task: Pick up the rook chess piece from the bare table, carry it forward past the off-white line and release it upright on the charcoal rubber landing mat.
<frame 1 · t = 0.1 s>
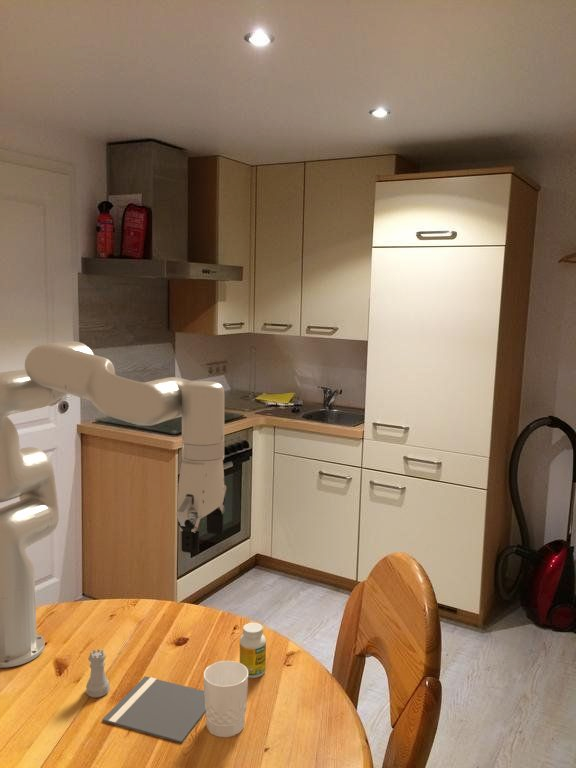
hand: (203, 542, 117), 31 cm above the table, tool pointing down, fingers open, 9 cm apart
supplement bottle: (252, 672, 131), on the table
landing mat: (161, 708, 119), on the table
white cup: (225, 726, 114), on the table
rook chess piece: (98, 692, 123), on the table
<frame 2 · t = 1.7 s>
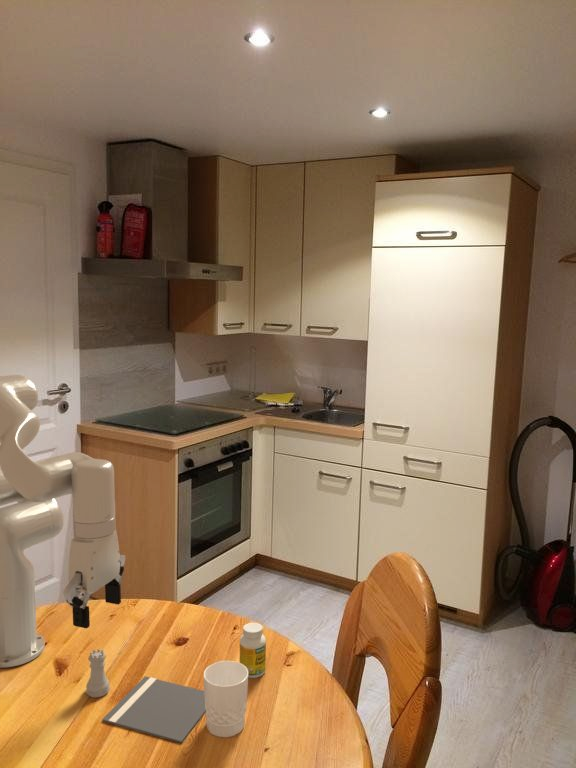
hand: (97, 614, 121), 16 cm above the table, tool pointing down, fingers open, 9 cm apart
nothing on the table moved.
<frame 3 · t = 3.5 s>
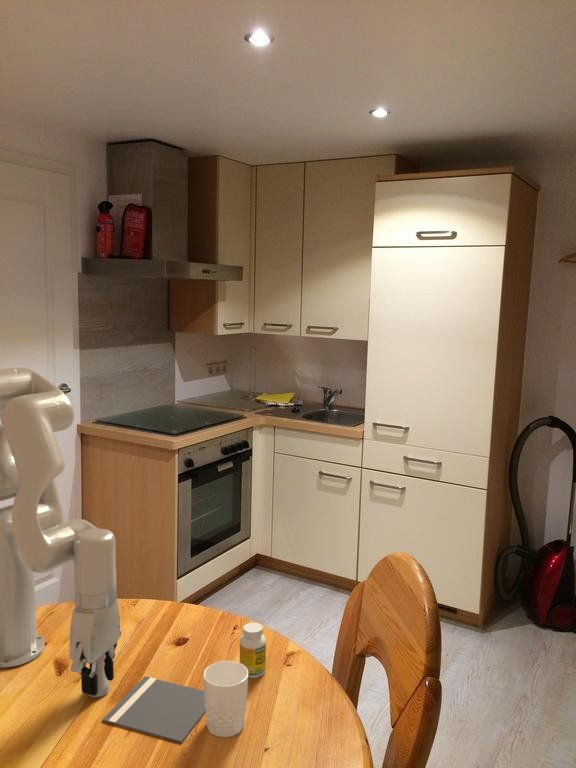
hand: (97, 684, 123), 1 cm above the table, tool pointing down, fingers closed on rook chess piece, 4 cm apart
rook chess piece: (98, 692, 123), on the table, touching gripper
everything else where it was.
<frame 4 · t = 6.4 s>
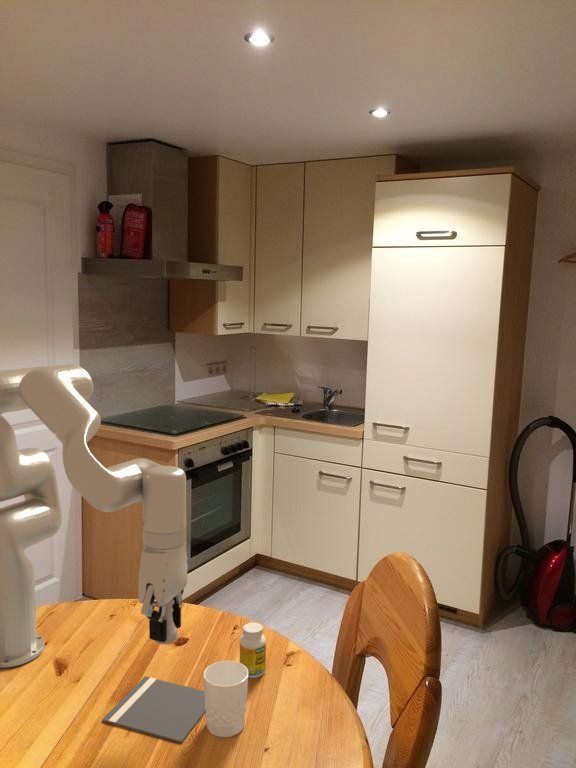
hand: (165, 632, 116), 15 cm above the table, tool pointing down, fingers closed on rook chess piece, 4 cm apart
rook chess piece: (165, 639, 116), point 14 cm above the table, touching gripper
everything else where it was.
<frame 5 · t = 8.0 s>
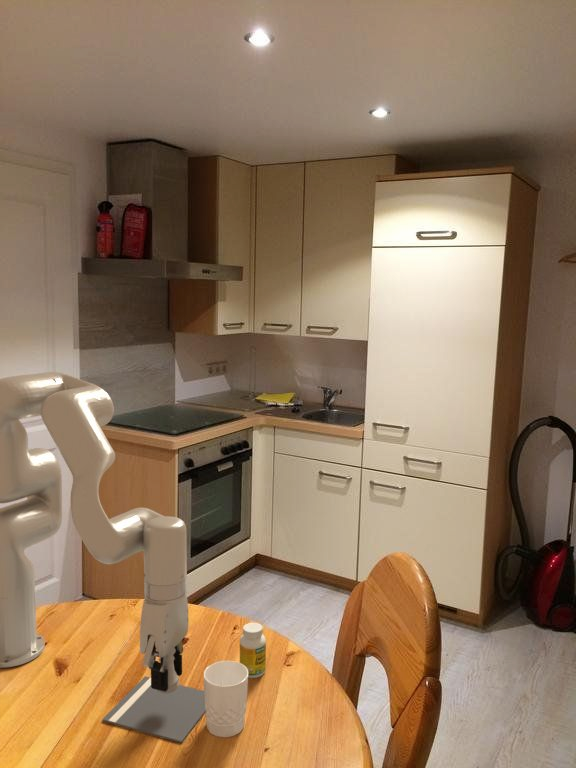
hand: (166, 680, 117), 6 cm above the table, tool pointing down, fingers closed on rook chess piece, 4 cm apart
rook chess piece: (167, 688, 118), point 4 cm above the table, touching gripper
everything else where it was.
when the fingers open (3 cm above the table, at t = 9.3 s): rook chess piece drops 1 cm, resting on landing mat.
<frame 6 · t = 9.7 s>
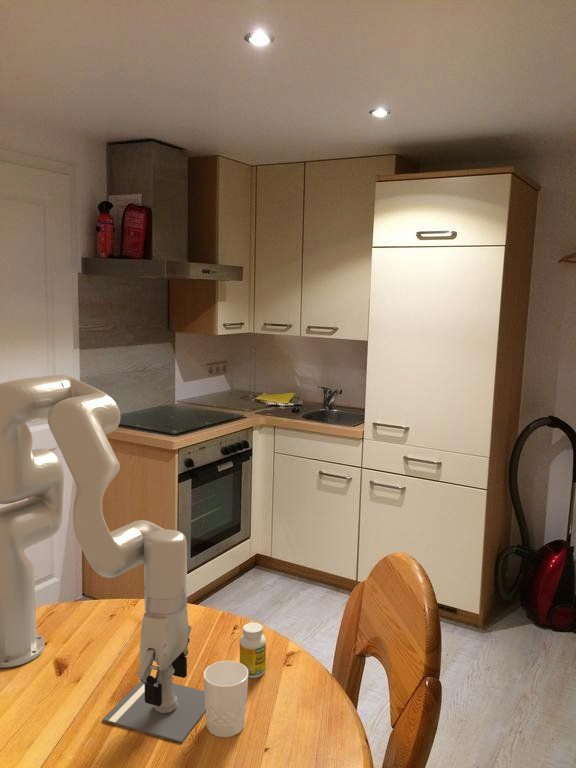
hand: (166, 689, 118), 4 cm above the table, tool pointing down, fingers open, 8 cm apart
rook chess piece: (166, 708, 118), resting on landing mat
everything else where it was.
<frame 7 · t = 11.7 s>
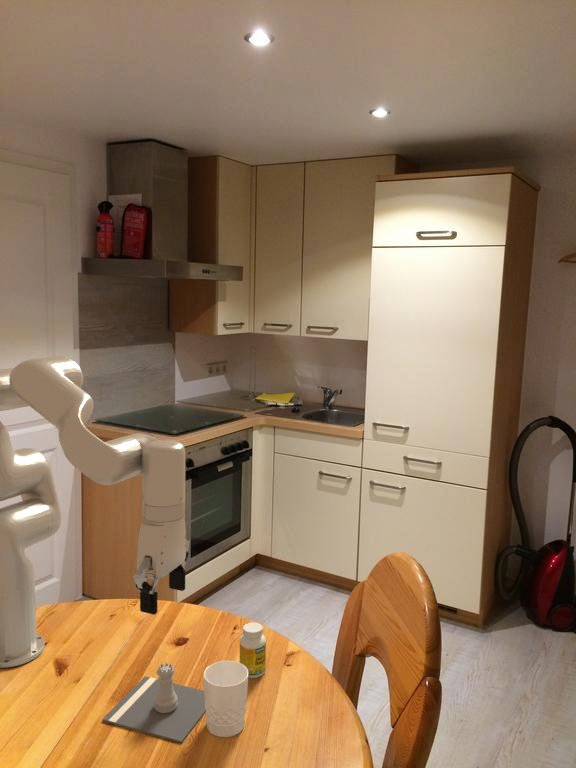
hand: (163, 600, 117), 21 cm above the table, tool pointing down, fingers open, 9 cm apart
nothing on the table moved.
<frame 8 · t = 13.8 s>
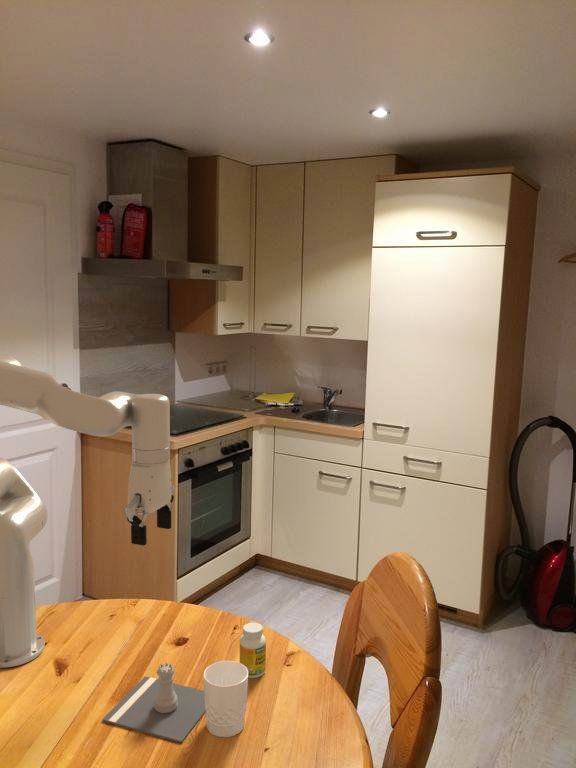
hand: (152, 535, 133), 26 cm above the table, tool pointing down, fingers open, 9 cm apart
nothing on the table moved.
at the end: rook chess piece inside the target area (1.2 cm from its centre), resting on landing mat; rook chess piece tilted 0°; the gripper is holding nothing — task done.
